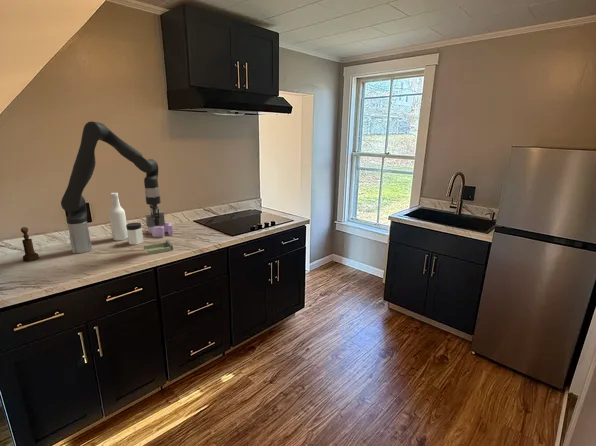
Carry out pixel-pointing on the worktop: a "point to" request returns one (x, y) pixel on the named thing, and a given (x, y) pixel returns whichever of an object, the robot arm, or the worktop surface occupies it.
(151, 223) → the upright grey block
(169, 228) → the clip
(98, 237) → the worktop surface
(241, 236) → the worktop surface
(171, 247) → the deck socket
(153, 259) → the worktop surface
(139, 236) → the jar
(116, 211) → the alcohol
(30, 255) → the brown chess pawn
